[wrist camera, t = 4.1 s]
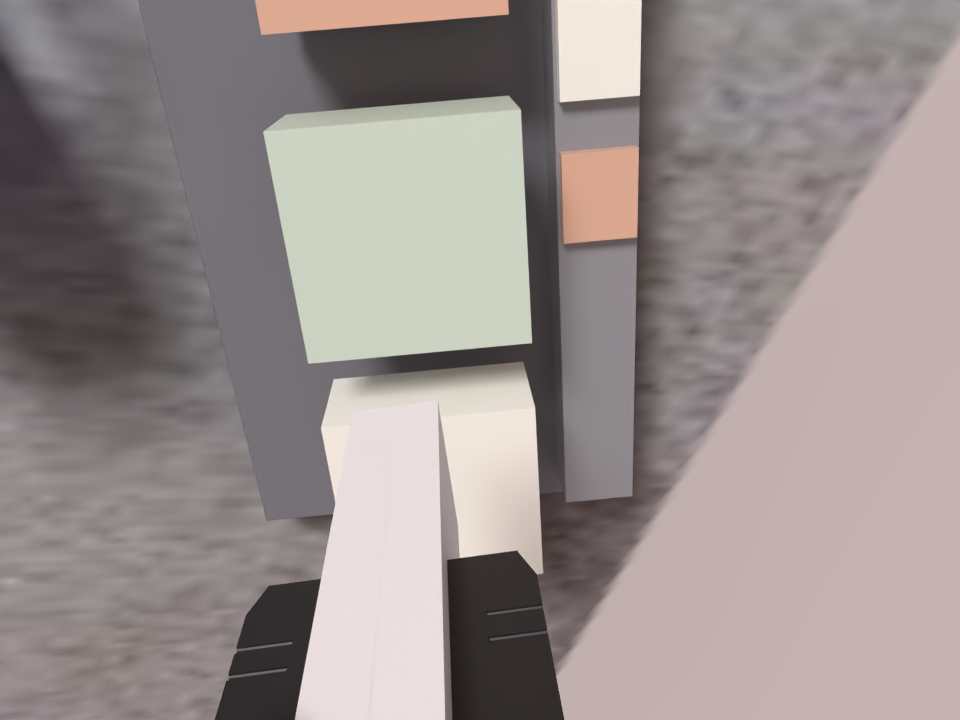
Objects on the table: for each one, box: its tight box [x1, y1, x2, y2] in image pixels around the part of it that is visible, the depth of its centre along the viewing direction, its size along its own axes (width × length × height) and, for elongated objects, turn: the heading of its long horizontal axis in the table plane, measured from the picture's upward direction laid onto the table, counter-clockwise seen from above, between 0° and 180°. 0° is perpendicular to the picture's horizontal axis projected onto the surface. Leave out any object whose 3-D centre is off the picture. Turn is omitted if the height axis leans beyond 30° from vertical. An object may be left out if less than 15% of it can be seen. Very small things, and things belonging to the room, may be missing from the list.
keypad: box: [138, 0, 642, 521], centre depth 22 cm, size 14×32×4 cm, turn 4°
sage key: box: [263, 96, 532, 364], centre depth 20 cm, size 6×6×3 cm
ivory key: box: [321, 362, 543, 574], centre depth 23 cm, size 6×6×3 cm
